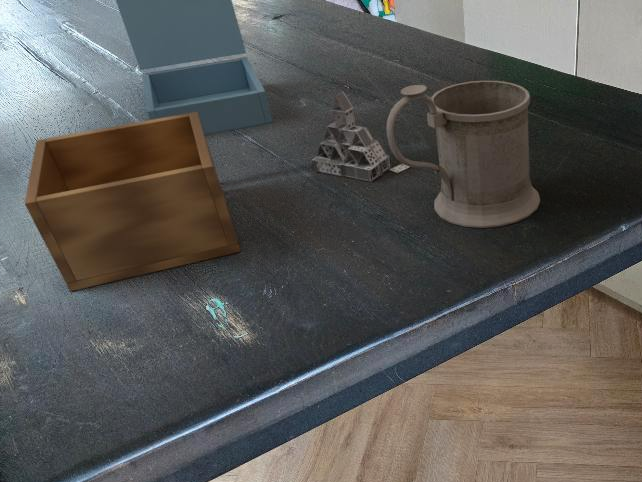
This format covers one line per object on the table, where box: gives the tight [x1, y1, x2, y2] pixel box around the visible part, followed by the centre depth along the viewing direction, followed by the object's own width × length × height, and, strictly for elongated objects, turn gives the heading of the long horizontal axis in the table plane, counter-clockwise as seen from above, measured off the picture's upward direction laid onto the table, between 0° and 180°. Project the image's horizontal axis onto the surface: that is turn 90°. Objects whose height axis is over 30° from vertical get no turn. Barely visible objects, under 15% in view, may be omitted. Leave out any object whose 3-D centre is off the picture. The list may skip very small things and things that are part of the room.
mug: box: [386, 80, 541, 229], centre depth 63 cm, size 14×10×12 cm
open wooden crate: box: [24, 112, 241, 292], centre depth 63 cm, size 14×14×8 cm
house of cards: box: [311, 90, 410, 183], centre depth 73 cm, size 9×9×8 cm
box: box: [141, 56, 274, 136], centre depth 86 cm, size 15×13×4 cm
